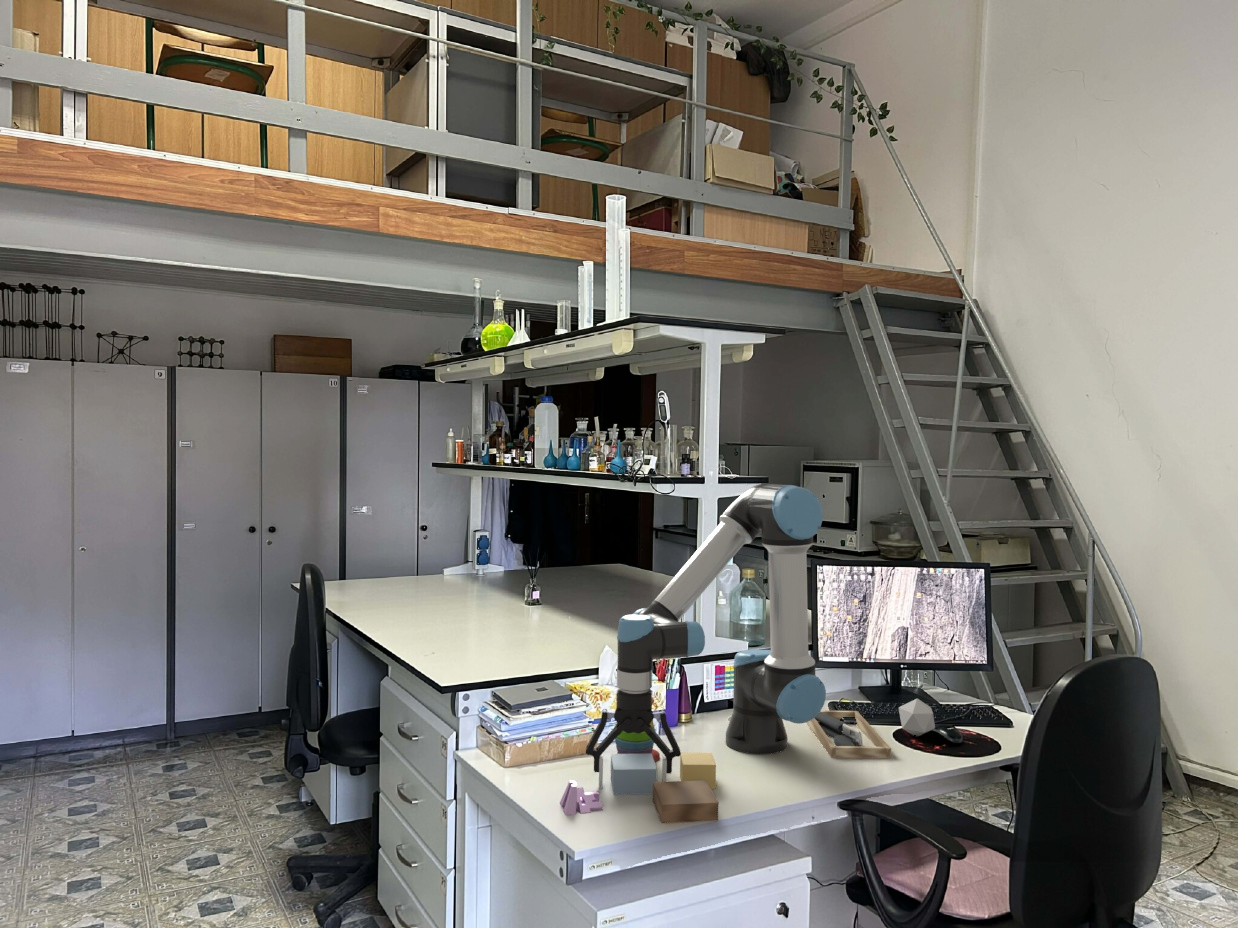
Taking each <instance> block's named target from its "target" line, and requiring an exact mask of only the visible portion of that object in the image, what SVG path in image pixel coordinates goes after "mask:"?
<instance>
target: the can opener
mask: <svg viewBox="0 0 1238 928" xmlns="http://www.w3.org/2000/svg"><path fill="white" fill-rule="evenodd" d="M815 719H816V720H817V721H819V722H818V724H819V725H820V726H821V728H822V729H823V731H824V732H825V733H826V734H827V736H828V737H829V738H832V737H833V738H832V739H833V744H834V746H863V742H864V741H863V735H862V733H861V732H862V731H861V730H858V729H855V728H854V727H852V726H850V725H847V724H848V723H844V722H842V721H840V720H837V719H835V718H833V717H831V716H829V715H827V714H825V713H823V712H818V713H817V715H816V717H815Z"/></svg>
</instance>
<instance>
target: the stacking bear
mask: <svg viewBox="0 0 1238 928" xmlns="http://www.w3.org/2000/svg"><path fill="white" fill-rule="evenodd" d="M654 702H655V698H654V697H653V696H652V706H653V705H654ZM616 724H617V722H616V723H615V725H616ZM650 725H651V726H652V728H653V729H654V731H655V732H656V729H655V723H654V719H653V720H652V721H651V723H650ZM614 741H615V745H616V752H617V753H616V754H648V753H652V756H653V759H654V762H656V761H658V760H660V759H661V758H660V756H661V755H660V752H659V750H656V749H655V748H654V745H655V743H654V742H653V740H652V739H651V738H650V737H649V736H648V735H647V734H646V732H645V731H643V732H641V733H634V732H633V733H626V732H624V731H622V733H621V734H620V735H618V736H617V737H616V739H615V740H614Z"/></svg>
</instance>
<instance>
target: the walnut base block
mask: <svg viewBox="0 0 1238 928" xmlns="http://www.w3.org/2000/svg"><path fill="white" fill-rule="evenodd" d="M652 803H653V805H654V808H655V810H656V813H657V815H658V818H659V819H660V822H661V824H676V823H679V824H680V823H694V822H713V821H714V822H715V821H717V822H718V821H719V802H718V800H717V798H716V796H715V794H714V792H713V791H712V789H710V787H709V785H708V784H707V782H706V780H701V781H681V780H676V781H666V782H662V781H656V782H653V794H652Z"/></svg>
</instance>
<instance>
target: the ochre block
mask: <svg viewBox="0 0 1238 928" xmlns="http://www.w3.org/2000/svg"><path fill="white" fill-rule="evenodd" d="M679 760H680V761H679V770H680V771H679V778H680V781H701V780H706V782H707V784H708V785H709V787H710V789H711V790H715V789H716V788H717V787H716V786H717V785H716V782H717V780H716V778H717V775H716V773H717V765H716V761H715V758H714V755H713V752H681V755H680V756H679Z"/></svg>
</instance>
